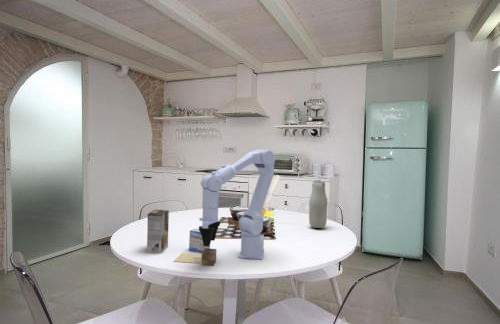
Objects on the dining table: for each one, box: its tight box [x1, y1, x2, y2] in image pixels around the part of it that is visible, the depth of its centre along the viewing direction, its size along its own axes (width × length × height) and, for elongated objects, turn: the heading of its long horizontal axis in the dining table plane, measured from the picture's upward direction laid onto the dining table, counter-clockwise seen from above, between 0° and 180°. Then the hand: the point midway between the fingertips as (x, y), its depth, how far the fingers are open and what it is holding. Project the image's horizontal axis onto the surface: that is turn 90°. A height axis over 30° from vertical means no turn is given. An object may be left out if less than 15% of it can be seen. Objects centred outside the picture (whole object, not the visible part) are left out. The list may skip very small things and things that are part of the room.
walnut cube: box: [200, 248, 217, 267], centre depth 114 cm, size 4×4×5 cm
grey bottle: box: [308, 179, 328, 229], centre depth 175 cm, size 10×10×28 cm
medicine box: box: [188, 228, 211, 254], centre depth 128 cm, size 8×4×9 cm, turn 70°
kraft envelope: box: [172, 252, 202, 264], centre depth 119 cm, size 10×10×1 cm
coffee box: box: [146, 209, 170, 254], centre depth 128 cm, size 9×6×16 cm
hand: (209, 243), depth 114 cm, fingers open, 7 cm apart
